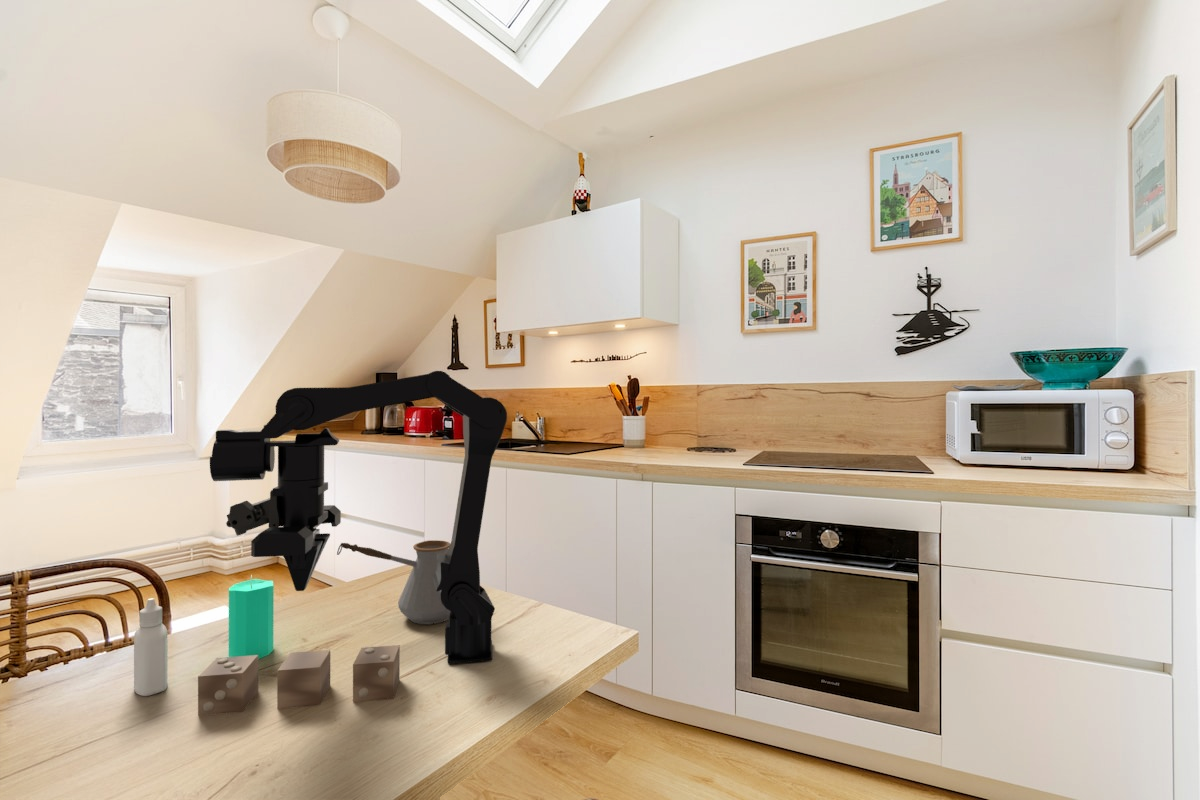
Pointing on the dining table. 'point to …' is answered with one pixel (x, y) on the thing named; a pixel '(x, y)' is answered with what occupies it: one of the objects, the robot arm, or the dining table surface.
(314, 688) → the plain block
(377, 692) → the two dot block
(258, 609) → the candle
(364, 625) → the dining table surface
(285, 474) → the robot arm
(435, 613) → the coffee pot
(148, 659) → the eye dropper bottle
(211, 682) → the three dot block
